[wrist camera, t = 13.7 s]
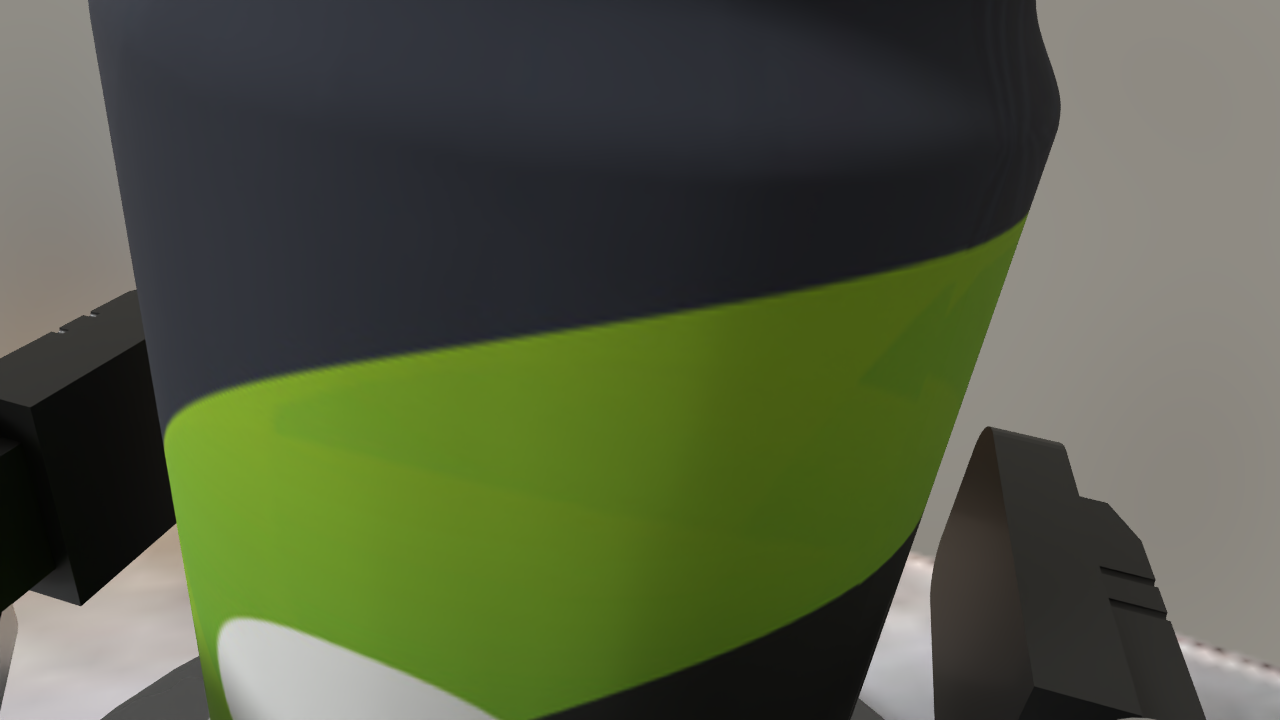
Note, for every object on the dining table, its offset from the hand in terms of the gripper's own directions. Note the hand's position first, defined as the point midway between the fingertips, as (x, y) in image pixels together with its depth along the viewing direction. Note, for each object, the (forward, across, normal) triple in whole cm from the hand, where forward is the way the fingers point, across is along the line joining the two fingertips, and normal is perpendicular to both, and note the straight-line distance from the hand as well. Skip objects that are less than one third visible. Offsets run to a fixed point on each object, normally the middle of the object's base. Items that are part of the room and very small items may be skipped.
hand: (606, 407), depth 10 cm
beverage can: (-2, 0, +10) cm, 10 cm away
